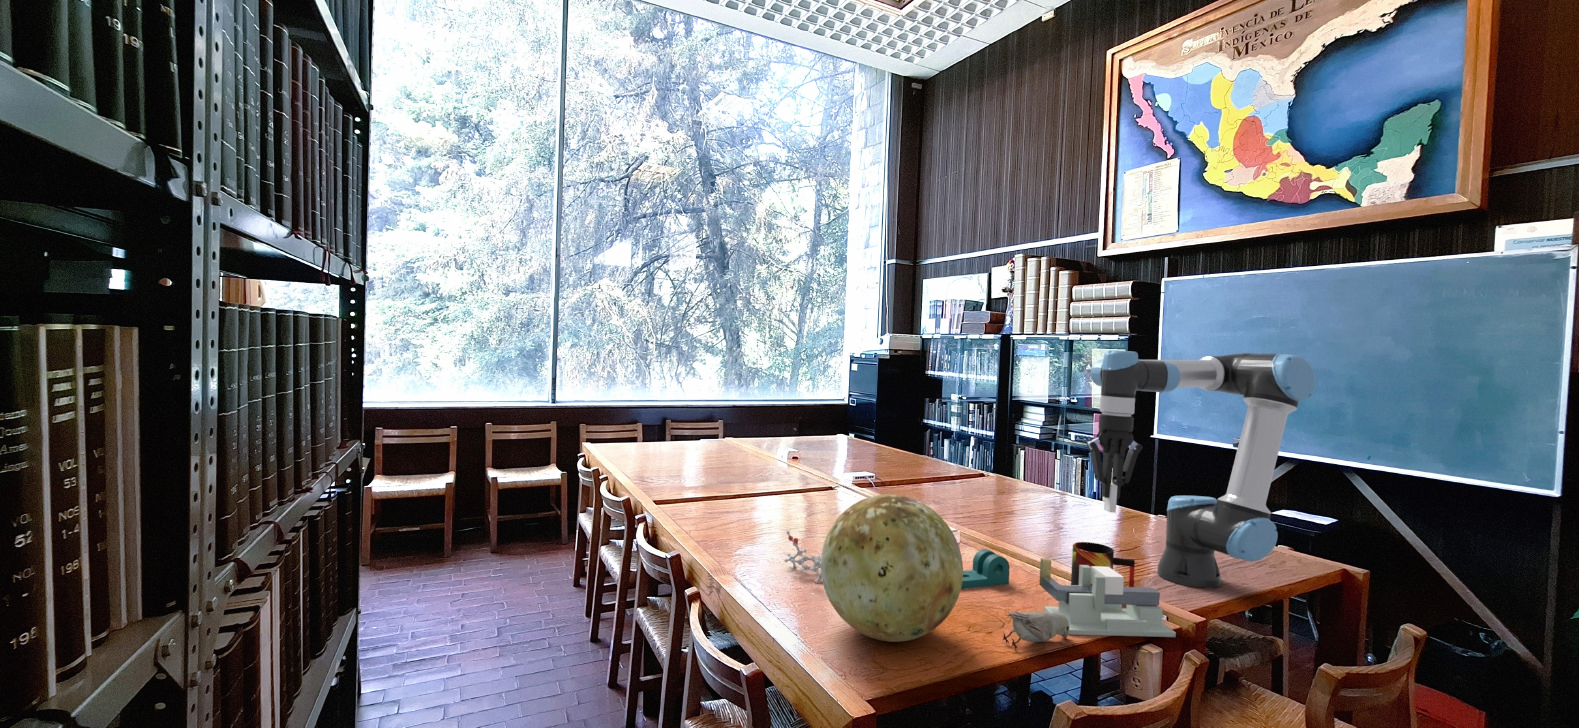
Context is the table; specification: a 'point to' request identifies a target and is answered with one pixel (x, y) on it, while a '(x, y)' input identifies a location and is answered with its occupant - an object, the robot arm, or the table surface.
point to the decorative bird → (1038, 626)
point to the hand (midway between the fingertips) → (1109, 510)
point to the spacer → (1109, 579)
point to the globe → (891, 568)
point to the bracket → (986, 571)
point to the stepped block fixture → (1108, 613)
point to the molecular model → (804, 558)
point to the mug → (1097, 559)
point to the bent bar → (1062, 591)
